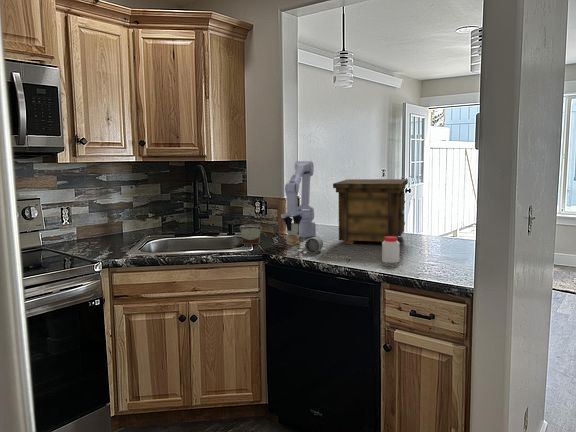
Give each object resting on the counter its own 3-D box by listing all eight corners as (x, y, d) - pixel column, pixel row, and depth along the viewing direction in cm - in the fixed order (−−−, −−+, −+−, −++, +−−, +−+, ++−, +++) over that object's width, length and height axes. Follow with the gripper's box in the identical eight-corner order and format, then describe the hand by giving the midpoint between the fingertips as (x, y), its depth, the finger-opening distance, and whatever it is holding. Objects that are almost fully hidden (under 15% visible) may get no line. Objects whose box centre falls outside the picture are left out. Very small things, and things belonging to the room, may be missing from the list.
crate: (347, 233, 288) (346, 179, 284) (407, 236, 277) (407, 179, 273) (333, 245, 255) (333, 183, 251) (401, 248, 244) (401, 183, 240)
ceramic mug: (324, 250, 242) (323, 235, 241) (319, 254, 234) (319, 238, 233) (304, 250, 246) (303, 235, 245) (299, 253, 238) (298, 237, 237)
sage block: (292, 232, 264) (292, 223, 263) (298, 233, 260) (298, 223, 260) (286, 233, 261) (286, 224, 260) (292, 234, 258) (291, 224, 257)
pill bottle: (379, 259, 220) (379, 235, 219) (396, 258, 221) (396, 235, 219) (384, 263, 212) (384, 238, 211) (401, 262, 213) (402, 238, 212)
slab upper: (293, 238, 264) (293, 234, 264) (299, 239, 260) (299, 235, 260) (286, 239, 261) (286, 235, 261) (292, 241, 257) (292, 236, 257)
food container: (263, 241, 269) (263, 224, 268) (262, 243, 263) (261, 225, 262) (242, 241, 270) (241, 224, 269) (239, 243, 264) (239, 226, 263)
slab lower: (294, 243, 265) (293, 238, 264) (299, 244, 261) (299, 239, 260) (286, 244, 262) (286, 239, 262) (291, 245, 258) (291, 241, 257)
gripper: (297, 203, 266) (297, 227, 268) (277, 205, 257) (277, 230, 259) (306, 204, 261) (306, 228, 263) (285, 206, 251) (286, 232, 253)
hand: (292, 230), depth 260 cm, fingers closed on sage block, 4 cm apart
